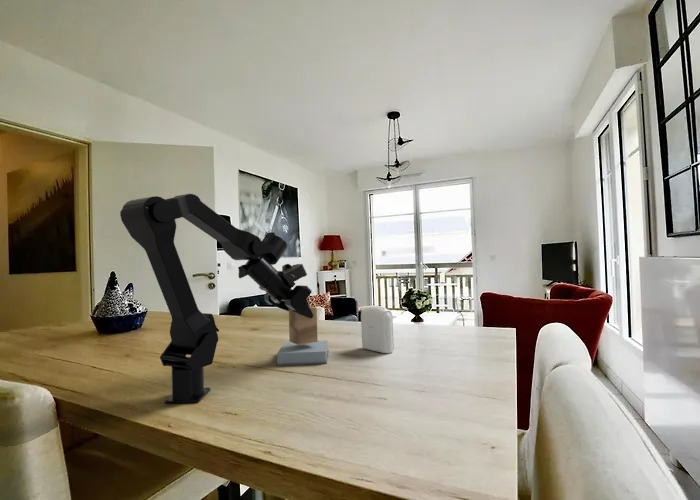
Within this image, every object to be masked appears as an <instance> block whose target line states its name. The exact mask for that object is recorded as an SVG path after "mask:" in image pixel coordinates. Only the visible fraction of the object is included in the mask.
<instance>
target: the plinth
mask: <svg viewBox="0 0 700 500" xmlns="http://www.w3.org/2000/svg"><path fill="white" fill-rule="evenodd" d="M317 341H318V342H313V343H307V344H302V345H297V344H295V343H292V342H290V341H284V342H283V344H282V346H281V347H280V349H279V350H278V351H277V353H276V356H277V359H276V360H277V363H276V366H277V367H278V366H280V367H281V366H283V367H284V366H305V365H307V366H308V365H326V364H328V358H329V348H328V347H329V346H328V345H329V343H328V340H317Z"/></svg>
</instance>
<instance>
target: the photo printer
mask: <svg viewBox="0 0 700 500" xmlns="http://www.w3.org/2000/svg"><path fill="white" fill-rule="evenodd" d="M393 319H394V318H393V313H392V311H391V310H390V309H388V308H387V307H384V306H380V305H369V306H366V307H364V308H362V310H361V313H360V324H361V325H360V327H361V328H360V329H361V346H362V348H363V349H365V350H368V351H372V352H379V353H383V354H391V353H393V352H394V350H395V343H394V339H395V338H394V322H393Z"/></svg>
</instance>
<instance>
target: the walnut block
mask: <svg viewBox="0 0 700 500" xmlns="http://www.w3.org/2000/svg"><path fill="white" fill-rule="evenodd" d="M308 306H309V307H310V309H311V311H312V313H313V315H314V316H313V317H312V318H308V317H305V316H303V315H300V314H298V313H296V312H293V311H290V310H289V311H288V332H289V335H288V336H289V339H288V340H289V342H292V343H295V344H297V345H302V344H307V343H313V342H318V341H319V340H318V313H317V311H318V310H317V306H311V305H308Z"/></svg>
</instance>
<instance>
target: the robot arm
mask: <svg viewBox="0 0 700 500" xmlns="http://www.w3.org/2000/svg"><path fill="white" fill-rule="evenodd" d="M119 215H120V219H121V222H122V224H123V225H124V227H125V229H126V231H127V232H128V233H129V235H130V237H131V238H132V239H133V240H134V241H135V242H136V243H138V245H140V247H142V249H143V250H144V251H145V252H146V255H147V257H148V261H149V263H150V266H151V269H152V270H153V273H154V275H155V278H156V281H157V283H158V286H159V288H160V291H161V293H162V296H163V298H164V302H165V303H166V305H167V309H168V311H169V313H170V316H171V317H170V318H171V322H170V323H171V324H170V327H169V328H170V329H169V334H170V343H168V345H167V346H166V347H165V349H164V351H163V352H162V353H161V355H160V356H159V358H160V361H161V363H162V366H163V367H171V395H169V396H168V397H167V398H166V399H164V404H182V403H185V404H187V403H198V402H201V400H202V399H204V397H205V396H206V395H208V393H210V392H211V387H205V377H204V374H205V373H204V371H205V369H204V368H205V367H209V366H210V365H212V364H213V362H214V359H215V355H216V354H215V353H216V349H217V345H218V342H219V336H218V332H220V329H219V328H218V327H217V325H216V321H215V317H214V315H213V313H203V312H201V310H200V309H199V307H198V305H197V302H196V300H195V297H194V293H193V291H192V289H191V286H190V283H189V280H188V278H187V275H186V272H185V269H184V266H183V264H182V261H181V259H180V255H179V254H178V251H177V248H176V245H175V236H176V230H177V221H176V220H177V219H181V218H183V219H185V220H186V221H188V222H189V223H191V225H193V226H195V227H196V228H198V229H199V230H201V231H202V232H204V233H205V234H206V235H208V236H209V237H210V238H212V239H214V240H215V241H217V242H218V243H219V244H220V245H221V246H222V250H223V251H224V252H225V253H226V254H227V255H228V257H230V258H231V259H232V260H234V261H246V262H245V264H242V265H240V266H238V267H237V269H238V278H239V279H242V278H245V277H246V276H248V277H249V278H251V279H252V280H253V281H254V282H255V283H256V284H257V285H258V286H259V287H258V288H259V289H260V290H261V291H265V292H266V293H265V294H264V296H263V300H264V302H265V303H267V304H268V305H271V306H274V307H275V308H277V309H280V310H283V311H285V312H289V310H290V311H293V312H296V313H298V314H300V315H303V316H305V317H308V318H312V317H313V316H314V315H313V313H312V311H311V309H310V307H309V306H310V305H309V303H308V301H307V299H308V297H310V295H312V292H313V291H312V289H311V288H310V287H309V286H308V285H300V284H299V285H296V283H295V282H296V281H298V280H300V279H301V278H305V277H307V275H308V273H307V272H306V269H305V267H304V265H303V264H302V263H297V264H293V265H291V264H290V263H286V264H283V265H282V267H281V268H282V269H281V270H277V269H276V268H275V267H274V266H273V265H276V264H277V263H278V262H279V260H280V259H281V257H282V256H283V255H284V253H285V252H286V250H287V248H288V244H287V241H286V240H284V239H283V238H282V237H280V236H278V235H276V233H275V232H267V233H266V234H265V236H264V238H263V239H262V240H261V238H260V237H259V236H257V235H255V234H253V232H249V231H248V230H247V231H246V230H243V229H239V228H237V227H235V225H233V224H232V223H231V222H229V221H227V220H226V219H225V218H224V217H223V216H221V215H220V214H218V213H217V212H216V211H215V210H213V208H211V207H209V206H208V205H207V204H206V203H204V202H203V201H202V200H201V199H200V197H199V196H198V195H196V194H193V193H185V194H180V195H175V196H174V197H169V198H166V199H165V198H164V197H161V196H158V195H157V196H147V197H142V198H137V199H131V200H129V201H126V202H125V203H124V204H123V206H122V209H121V210H120V214H119ZM292 288H293V289H292ZM274 303H275V304H274ZM187 355H188V356H187Z"/></svg>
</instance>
